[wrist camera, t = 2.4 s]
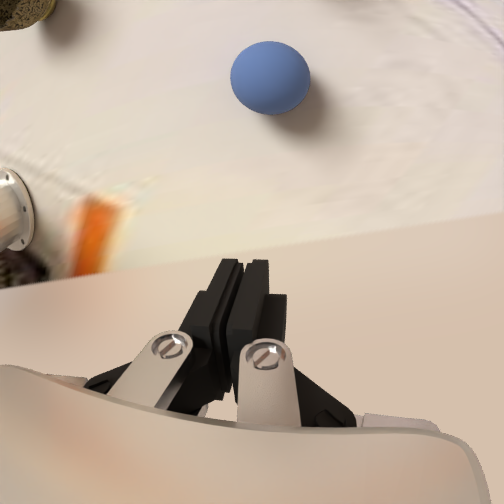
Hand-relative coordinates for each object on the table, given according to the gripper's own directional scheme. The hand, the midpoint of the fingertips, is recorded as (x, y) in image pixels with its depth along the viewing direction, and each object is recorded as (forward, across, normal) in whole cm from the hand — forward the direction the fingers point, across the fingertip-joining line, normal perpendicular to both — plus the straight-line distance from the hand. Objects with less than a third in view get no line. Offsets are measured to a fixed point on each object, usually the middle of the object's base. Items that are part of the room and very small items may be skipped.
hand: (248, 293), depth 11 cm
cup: (+17, +26, -26) cm, 40 cm away
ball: (+14, 0, -10) cm, 17 cm away
